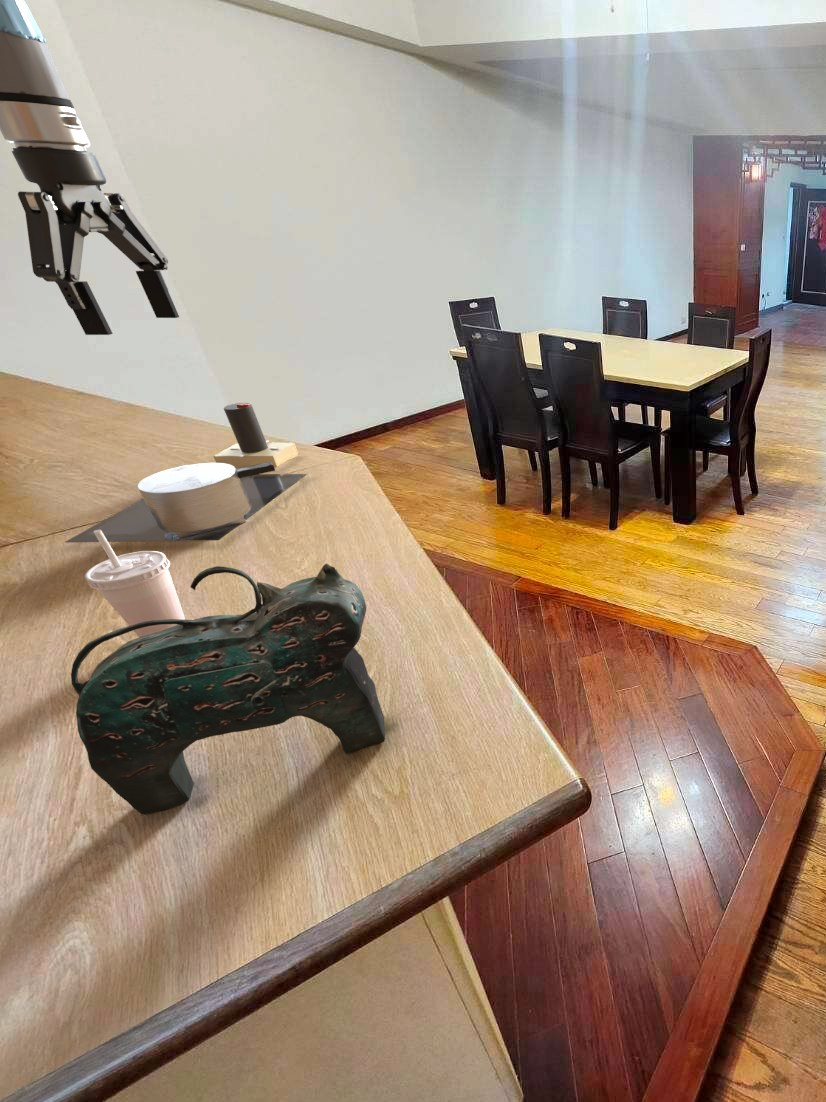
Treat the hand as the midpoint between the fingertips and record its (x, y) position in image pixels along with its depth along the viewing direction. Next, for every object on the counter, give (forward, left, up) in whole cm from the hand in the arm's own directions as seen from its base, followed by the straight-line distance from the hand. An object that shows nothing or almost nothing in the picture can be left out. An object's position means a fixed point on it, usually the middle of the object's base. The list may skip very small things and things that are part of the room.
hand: (136, 325), depth 85 cm
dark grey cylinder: (0, +13, -24) cm, 27 cm away
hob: (+2, -6, -26) cm, 27 cm away
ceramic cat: (+42, -59, -27) cm, 77 cm away
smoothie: (+20, -40, -27) cm, 52 cm away
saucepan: (+9, -10, -26) cm, 29 cm away
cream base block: (0, +13, -26) cm, 29 cm away
